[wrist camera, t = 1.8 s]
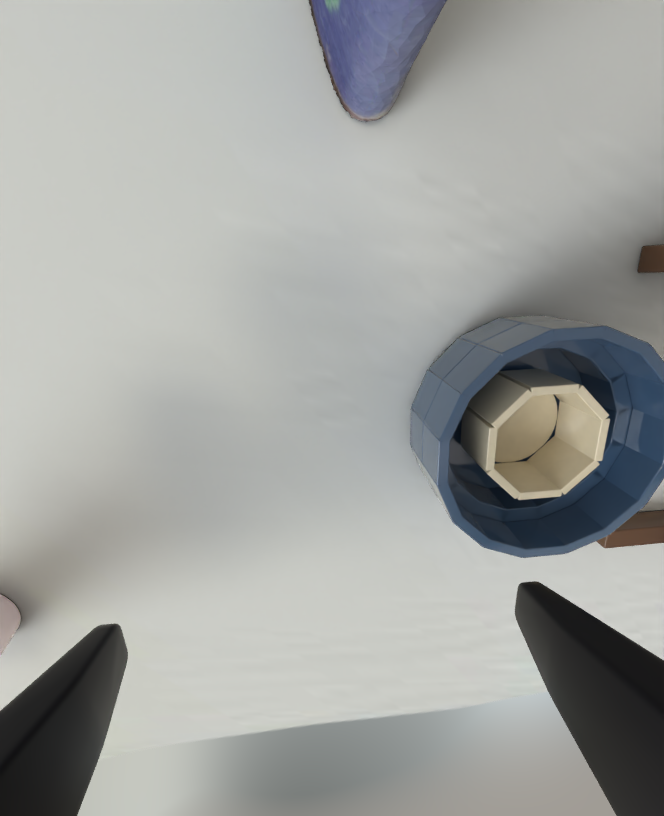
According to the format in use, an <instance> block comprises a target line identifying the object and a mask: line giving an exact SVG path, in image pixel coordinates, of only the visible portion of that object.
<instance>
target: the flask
mask: <svg viewBox="0 0 664 816" xmlns="http://www.w3.org/2000/svg"><path fill="white" fill-rule="evenodd" d="M446 1H447V0H309V4H310V6H311V11H312V16H313V19H314V23H315V26H316V31H317V35H318V37H319V43H320V46H322V49H323V54H324V55H323V56H324V58H325V59H324V61H325V62H326V67H327V69H328V72H329V74H330V78H331V82H332V85H333V86H334V90H335V91H336V94H337V96H338V97H339V99H340V102H341V104H342V105H343V107H344V109H345V110H346V112H347V111H348V112H349V114H350V116H351V117H352V118H355V119H358V120H360V121H366V122H368V121H373V120H377V119H380V118H381V117H383V116H384V115H386V114H387V113H388V112H389V110H390V109H391V107H392V106H393V104H394V103H395V100H396V98H397V96H398V94H399V92H400V90H401V88H402V86H403V83H404V81H405V79H406V77H407V75H408V72H409V70H410V68H411V66H412V64H413V62H414V60H415V59H416V57H417V55H418V53H419V51H420V49H421V47H422V45H423V44H424V42H425V40H426V38H427V36H428V34H429V32H430V30H431V28H432V26H433V24H434V23H435V21H436V19H437V17H438V15H439V13H440V11H441V9H442V8H443V6H444V4H445V2H446Z"/></svg>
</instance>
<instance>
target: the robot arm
mask: <svg viewBox="0 0 664 816" xmlns="http://www.w3.org/2000/svg"><path fill="white" fill-rule="evenodd" d="M515 616H516V620H517V622H518V625H519V627H520V629H521V631H522V634H523V636H524V638H525V640H526V643H527V645H528V647H529V649H530V652H531V654H532V656H533V659H534V661H535V663H536V665H537V668H538V670H539V672H540V674H541V677H542V679H543V681H544V683H545V685H546V687H547V690H548V692H549V694H550V696H551V697H552V699H553V701H554V703H555V705H556V707H557V709H558V711H559V712H560V714H561V716H562V718H563V720H564V721H565V723H566V725H567V727H568V728H569V730H570V732H571V734H572V736H573V738H574V739H575V741H576V743H577V745H578V746H579V749H580V750H581V752H582V754H583V756H584V757H585V759H586V761H587V763H588V765H589V767H590V768H591V770H592V772H593V774H594V776H595V777H596V779H597V781H598V783H599V785H600V787H601V788H602V790H603V792H604V794H605V796H606V797H607V799H608V801H609V803H610V805H611V806H612V808H613V810H614V812H615V814H616V815H617V816H664V660H662V659H660V658H659V657H657V656H656V655H654V654H652V653H651V652H649V651H648V650H646V649H645V648H643V647H641V646H640V645H638V644H637V643H635V642H633V641H632V640H630V639H629V638H627V637H625V636H624V635H622V634H621V633H619V632H617V631H616V630H614V629H613V628H611V627H610V626H608V625H606V624H605V623H603V622H602V621H600V620H598V619H597V618H595V617H594V616H592V615H590V614H589V613H587V612H586V611H584V610H583V609H581V608H579V607H578V606H576V605H575V604H573V603H571V602H570V601H568V600H567V599H565V598H563V597H562V596H560V595H559V594H557V593H555V592H554V591H552V590H551V589H549V588H548V587H546V586H544V585H543V584H541V583H539V582H535V581H534V582H524V583H520V584H519V586H518V591H517V598H516V605H515ZM127 659H128V652H127V647H126V644H125V640H124V637H123V633H122V630H121V627H120V626H119V625H118V624H106V625H100V626H97V627H96V628H94V629H93V630H92V631H91V632H90V633H89V634H88V635H86V636H85V637H84V638H83V639H82V640H81V641H80V642H78V643H77V644H76V645H75V646H74V647H73V648H72V649H70V650H69V651H68V652H67V653H66V654H65V655H64V656H62V657H61V658H60V659H59V660H58V661H57V662H56V663H54V664H53V665H52V666H51V667H50V668H49V669H48V670H46V671H45V672H44V673H43V674H42V675H41V676H40V677H39V678H37V679H36V680H35V681H34V682H33V683H32V684H31V685H29V686H28V687H27V688H26V689H25V690H24V691H23V692H21V693H20V694H19V695H18V696H17V697H16V698H15V699H13V700H12V701H11V702H10V703H9V704H8V705H7V706H5V707H4V708H3V709H2V710H1V711H0V816H77V814H78V812H79V809H80V806H81V804H82V801H83V798H84V796H85V793H86V791H87V788H88V785H89V783H90V780H91V777H92V775H93V772H94V770H95V767H96V764H97V762H98V759H99V756H100V753H101V750H102V748H103V745H104V741H105V738H106V735H107V732H108V728H109V724H110V721H111V717H112V714H113V710H114V707H115V703H116V700H117V696H118V693H119V689H120V685H121V682H122V678H123V675H124V671H125V668H126V664H127Z"/></svg>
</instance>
